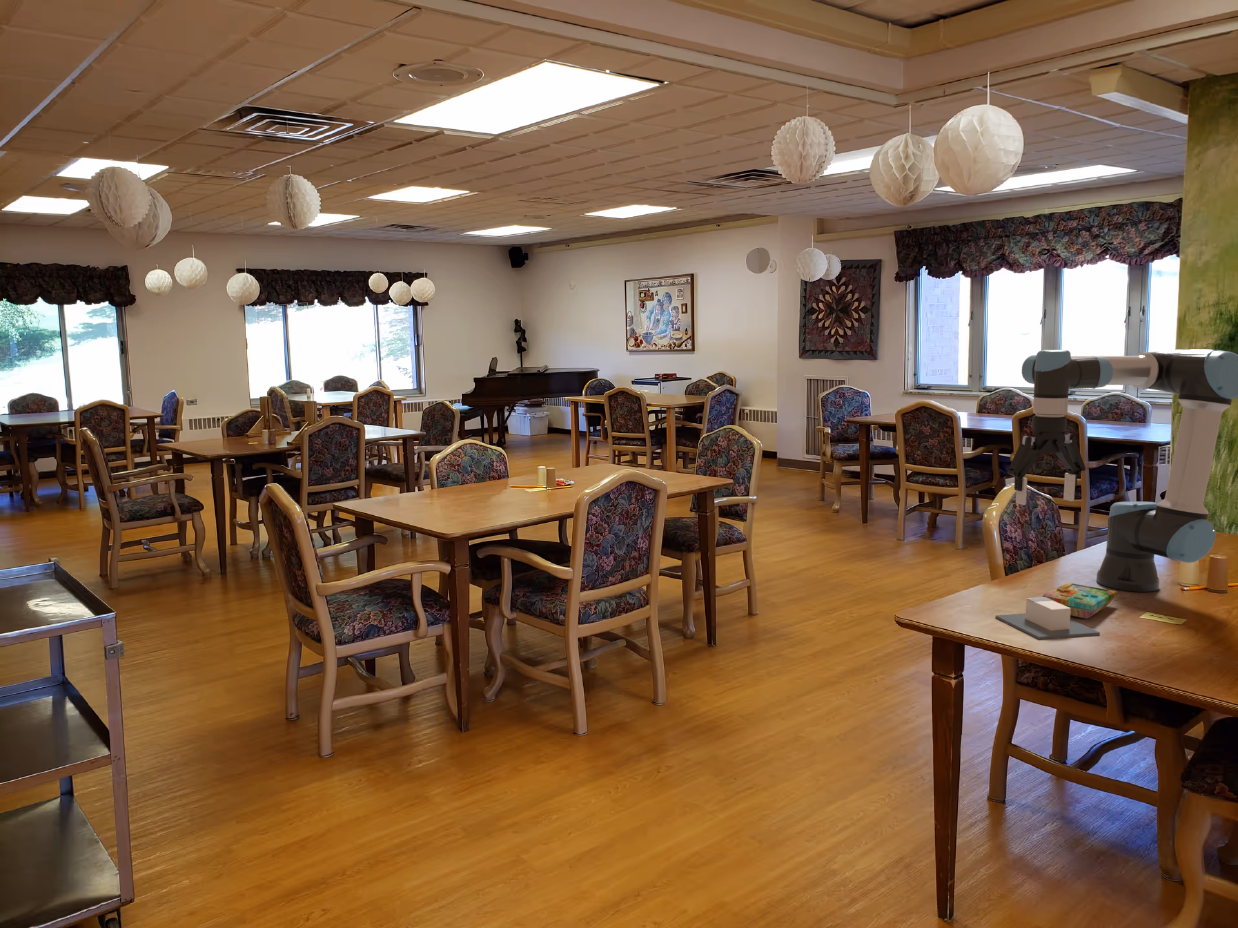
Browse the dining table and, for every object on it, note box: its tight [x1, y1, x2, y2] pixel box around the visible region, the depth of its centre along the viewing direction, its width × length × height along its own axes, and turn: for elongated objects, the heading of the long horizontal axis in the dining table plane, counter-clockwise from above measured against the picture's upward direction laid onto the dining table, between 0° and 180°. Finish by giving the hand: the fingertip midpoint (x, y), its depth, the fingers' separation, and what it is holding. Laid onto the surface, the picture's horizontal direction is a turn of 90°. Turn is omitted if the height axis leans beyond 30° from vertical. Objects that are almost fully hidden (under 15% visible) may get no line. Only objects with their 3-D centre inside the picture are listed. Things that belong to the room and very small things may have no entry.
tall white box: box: [1025, 596, 1071, 631], centre depth 220 cm, size 9×5×5 cm, turn 14°
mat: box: [995, 612, 1101, 640], centre depth 221 cm, size 16×16×1 cm
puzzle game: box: [1041, 582, 1118, 620], centre depth 234 cm, size 12×5×20 cm
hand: (1044, 502), depth 227 cm, fingers open, 13 cm apart
